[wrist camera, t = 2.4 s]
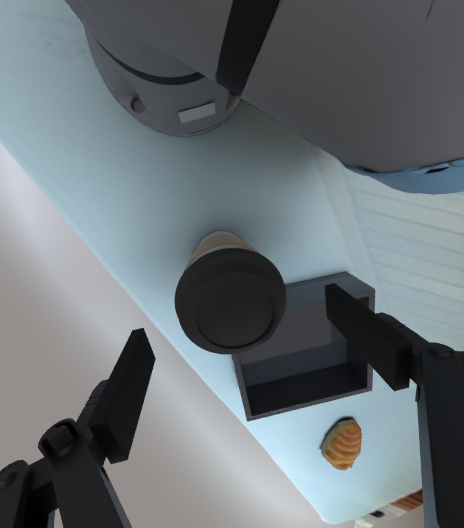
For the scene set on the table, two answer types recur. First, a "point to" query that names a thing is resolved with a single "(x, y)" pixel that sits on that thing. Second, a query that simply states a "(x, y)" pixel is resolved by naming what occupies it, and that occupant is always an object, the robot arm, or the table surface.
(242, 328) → the coffee cup
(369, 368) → the dark grey open box
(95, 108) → the table surface
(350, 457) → the pastry
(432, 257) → the table surface
